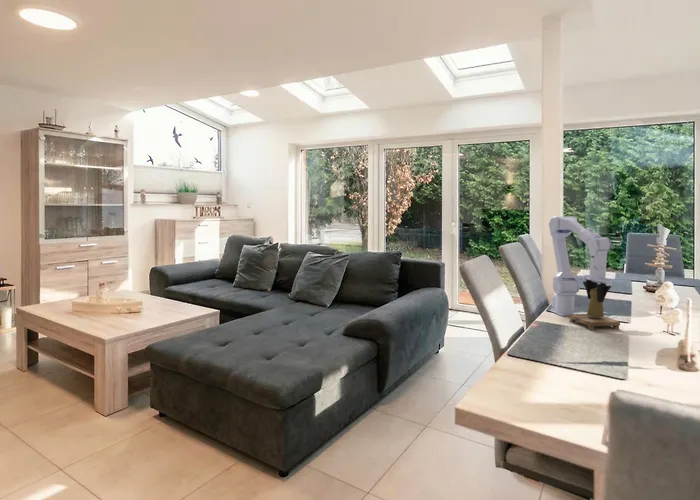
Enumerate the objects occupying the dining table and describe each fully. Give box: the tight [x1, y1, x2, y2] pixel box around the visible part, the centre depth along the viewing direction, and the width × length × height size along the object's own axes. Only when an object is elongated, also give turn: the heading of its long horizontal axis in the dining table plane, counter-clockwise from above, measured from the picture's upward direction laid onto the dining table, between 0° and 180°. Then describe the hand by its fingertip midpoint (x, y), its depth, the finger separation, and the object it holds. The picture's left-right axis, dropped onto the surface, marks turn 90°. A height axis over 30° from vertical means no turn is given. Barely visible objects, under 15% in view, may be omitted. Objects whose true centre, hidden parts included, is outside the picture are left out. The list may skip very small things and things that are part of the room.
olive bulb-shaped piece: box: [586, 289, 605, 317], centre depth 182 cm, size 6×6×11 cm
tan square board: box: [569, 313, 621, 331], centre depth 183 cm, size 13×13×3 cm
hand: (595, 300), depth 182 cm, fingers closed on olive bulb-shaped piece, 5 cm apart
